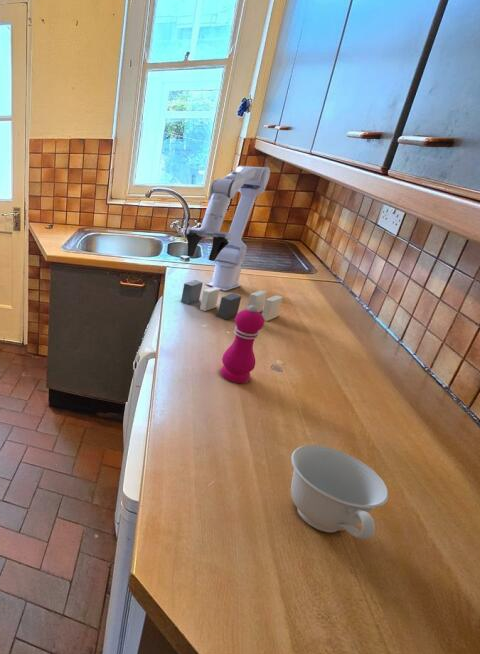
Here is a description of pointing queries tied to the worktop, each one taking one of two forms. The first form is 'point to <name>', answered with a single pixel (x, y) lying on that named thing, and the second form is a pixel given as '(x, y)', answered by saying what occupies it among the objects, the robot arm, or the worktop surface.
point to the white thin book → (209, 298)
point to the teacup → (335, 490)
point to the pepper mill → (242, 346)
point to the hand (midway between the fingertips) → (200, 258)
